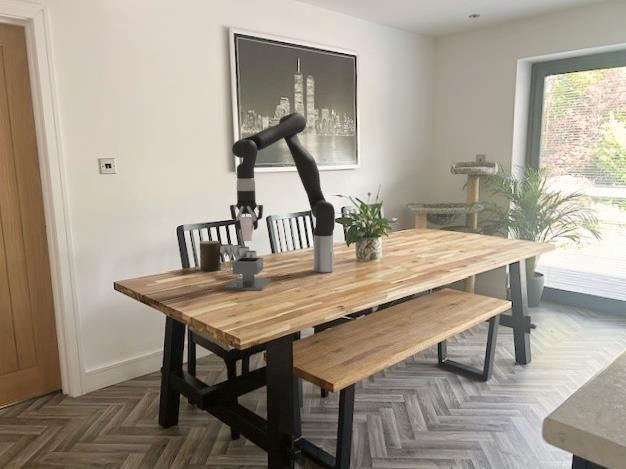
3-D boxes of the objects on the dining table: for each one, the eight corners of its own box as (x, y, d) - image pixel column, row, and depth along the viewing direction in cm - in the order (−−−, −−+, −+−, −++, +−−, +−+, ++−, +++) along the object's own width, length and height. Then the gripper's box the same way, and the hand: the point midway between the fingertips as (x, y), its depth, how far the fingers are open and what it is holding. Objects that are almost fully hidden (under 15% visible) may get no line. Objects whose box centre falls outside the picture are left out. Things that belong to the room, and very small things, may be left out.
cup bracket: (271, 281, 214) (270, 256, 212) (262, 290, 198) (261, 264, 196) (236, 280, 216) (235, 255, 214) (224, 289, 200) (223, 263, 199)
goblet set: (260, 277, 221) (259, 248, 219) (250, 279, 217) (249, 250, 215) (225, 267, 241) (225, 241, 239) (215, 269, 237) (214, 242, 235)
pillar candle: (216, 272, 231) (215, 241, 229) (197, 271, 233) (196, 240, 231) (223, 268, 241) (222, 238, 239) (205, 267, 242) (204, 237, 240)
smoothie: (240, 239, 207) (239, 206, 205) (255, 239, 208) (254, 206, 206) (239, 241, 201) (238, 208, 199) (255, 241, 201) (254, 207, 199)
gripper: (265, 188, 204) (266, 228, 206) (232, 188, 206) (233, 228, 208) (260, 190, 196) (261, 231, 199) (226, 190, 198) (227, 230, 201)
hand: (247, 229), depth 204 cm, fingers closed on smoothie, 6 cm apart
